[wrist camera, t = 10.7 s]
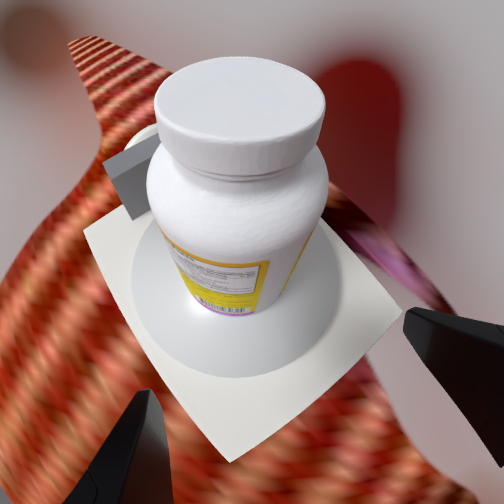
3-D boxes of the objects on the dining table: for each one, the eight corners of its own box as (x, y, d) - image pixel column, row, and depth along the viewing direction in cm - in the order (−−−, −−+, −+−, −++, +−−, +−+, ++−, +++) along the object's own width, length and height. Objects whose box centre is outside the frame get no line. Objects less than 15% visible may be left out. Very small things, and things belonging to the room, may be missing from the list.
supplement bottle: (254, 211, 20) (277, 37, 9) (305, 288, 18) (409, 134, 6) (168, 250, 18) (104, 78, 7) (213, 339, 16) (161, 230, 4)
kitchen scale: (384, 320, 21) (448, 287, 13) (229, 451, 16) (228, 496, 8) (235, 157, 27) (238, 87, 20) (94, 239, 22) (49, 182, 15)
